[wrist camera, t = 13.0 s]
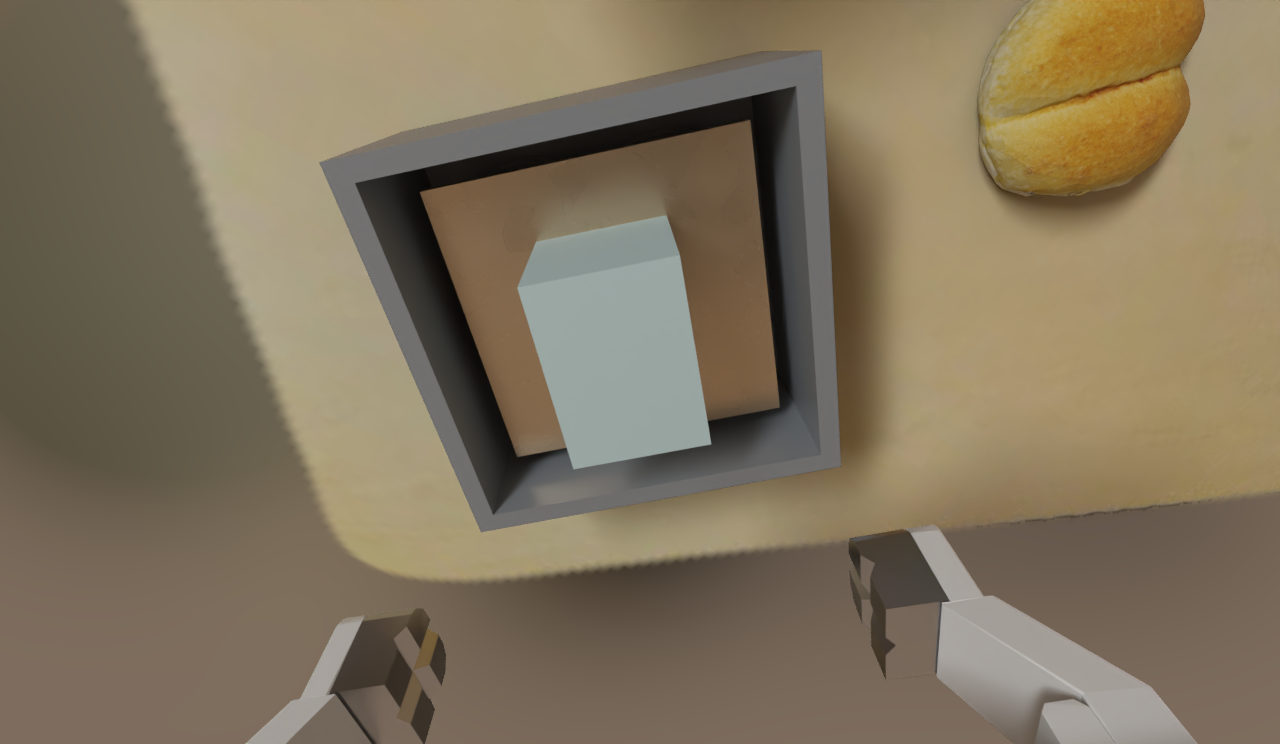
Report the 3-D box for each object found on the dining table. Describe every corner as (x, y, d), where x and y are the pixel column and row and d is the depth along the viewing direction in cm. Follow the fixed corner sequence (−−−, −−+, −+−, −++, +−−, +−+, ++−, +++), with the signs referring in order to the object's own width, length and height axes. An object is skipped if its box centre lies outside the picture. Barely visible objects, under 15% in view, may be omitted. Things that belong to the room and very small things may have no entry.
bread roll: (1181, -66, 23) (1281, -87, 20) (1142, 165, 28) (1219, 182, 24) (969, -11, 24) (1030, -21, 21) (962, 207, 28) (1012, 230, 25)
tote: (761, 51, 25) (821, 50, 18) (790, 375, 32) (840, 466, 25) (400, 132, 26) (319, 162, 18) (509, 429, 33) (481, 532, 26)
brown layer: (728, 109, 25) (750, 120, 21) (757, 361, 30) (779, 407, 26) (449, 170, 25) (419, 192, 21) (529, 405, 31) (517, 457, 27)
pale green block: (666, 215, 22) (679, 255, 18) (694, 376, 25) (711, 444, 21) (536, 241, 22) (517, 287, 18) (580, 398, 26) (573, 469, 21)
